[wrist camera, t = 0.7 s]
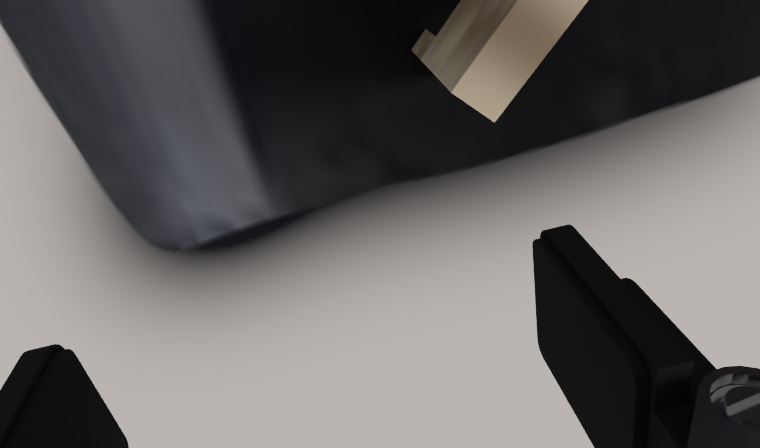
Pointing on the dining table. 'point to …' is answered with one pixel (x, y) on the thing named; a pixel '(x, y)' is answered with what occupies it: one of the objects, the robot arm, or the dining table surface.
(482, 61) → the notched wooden block
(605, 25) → the dining table surface
